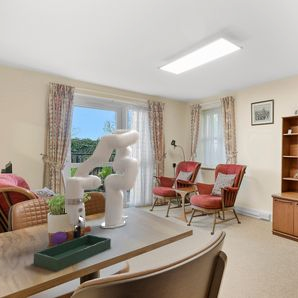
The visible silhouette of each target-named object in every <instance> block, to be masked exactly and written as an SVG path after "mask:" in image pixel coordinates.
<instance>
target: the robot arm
mask: <svg viewBox="0 0 298 298" xmlns="http://www.w3.org/2000/svg"><path fill="white" fill-rule="evenodd" d="M140 137H141V135H140V133H139V132H138V131H137V130H135V129H115V130H113V131H112V133H106V134H103V135H102V136H101V137H100V138H99V141H98V143H97V145H96V146H95V149H94V151H93V153H92V155H91V156H90V157H89V158H87V159H86V160H85V161H84V162H82V163H81V164H80V165H79V166H78V167H77V169H76V170H75V172H74V174H73V176H70V177H69V176H68V177H67V178H66V179H65V187H64V189H65V191H64V206H65V213H67V214H69V215H70V225H72V226H73V231H72V233H73V235H72V240H74V239H77V238H80V237H82V236H81V235H82V234H81V229H82V228H84V227H85V225H86V210H85V204H84V198H85V197H84V195H85V191H92V190H94V191H95V190H98V189H99V188H100V187H101V185H102V179H101V178H100V177H99V176H97V175H90V173H91V172H92V171H93V170H94V169H95V168H97V167H100V166H102V165H104V164H107V163H108V162H109V160H110V159H111V156H112V154H113V152H114V150H115V149H116V153H115V155H114V159H113V162H112V170H113V171H114V172H116V173H111V174H109V175H107V176H105V179H104V183H103V185H104V190H105V202H104V203H105V204H104V222H102V223H101V225H100V226H101V228H103V229H116V228H120V227H123V226H125V225H126V221H125V220H127V219H129V217H130V216H129V215H124V213H123V212H124V193H123V191H131V190H132V189H133V188H134V187H135V185H136V181H137V178H138V174H139V170H140V162H139V160H138V159H137V158H134V157H132V153H133V152H132V151H133V150H132V146H133V145H134V144H136V143H138V142H139V140H140ZM121 173H123V174H121Z"/></svg>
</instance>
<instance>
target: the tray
mask: <svg viewBox="0 0 298 298" xmlns="http://www.w3.org/2000/svg"><path fill="white" fill-rule="evenodd" d="M111 243H112V239H111V238H109V237H105V236H99V235H95V234H91V233H89V234H86V235H83V236H81V237H80V238H77V239H71V240H67V241H65V242H64V243H62V244H59V245H54V246H53V245H52V246H50V247H47V248H44V249H41V250H39V251H35V252H33V264H32V265H34V266H36V267H37V266H38V267H40V268H43V269H47V270H51V271H54V272H59V271H62V270H64V269H66V268H69V267H71V266H73V265H76V264H78V263H81V262H82V261H84V260H87V259H89V258H92V257H94V256H96V255H99V254H101V253H103V252H105V251H107V250H110V249H111V245H112V244H111Z"/></svg>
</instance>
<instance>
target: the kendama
mask: <svg viewBox="0 0 298 298" xmlns="http://www.w3.org/2000/svg"><path fill="white" fill-rule="evenodd" d="M83 228H84V230H83V231H82V232H83V233H82V234H86V233H90V232H91V231H92V227H91V226H90V225H87V226H84V227H83ZM71 235H72V234H71V233H69V232H66V233H65V231H61V230H60V231H56V232H54V233H53V234H52V235H51V237H50V243H51V244H52V245H54V246H56V245H59V244H62V243H65V242H67V241H69V239H70V238H71V237H72V236H73V235H72V236H71Z"/></svg>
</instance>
